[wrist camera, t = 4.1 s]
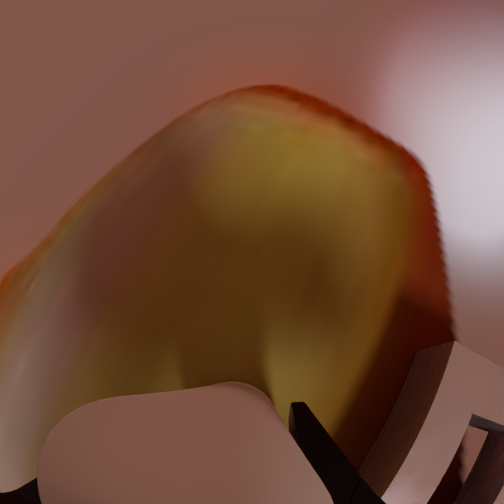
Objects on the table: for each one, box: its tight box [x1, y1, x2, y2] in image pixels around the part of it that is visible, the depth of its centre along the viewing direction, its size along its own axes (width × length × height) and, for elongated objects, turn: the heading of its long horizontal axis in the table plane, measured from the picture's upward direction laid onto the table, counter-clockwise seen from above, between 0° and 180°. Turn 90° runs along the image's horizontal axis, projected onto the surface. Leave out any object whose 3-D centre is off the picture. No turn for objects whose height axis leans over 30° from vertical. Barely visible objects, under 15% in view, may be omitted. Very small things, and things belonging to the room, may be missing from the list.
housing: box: [358, 341, 504, 504], centre depth 9 cm, size 12×12×4 cm
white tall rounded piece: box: [37, 381, 334, 504], centre depth 8 cm, size 4×4×12 cm
